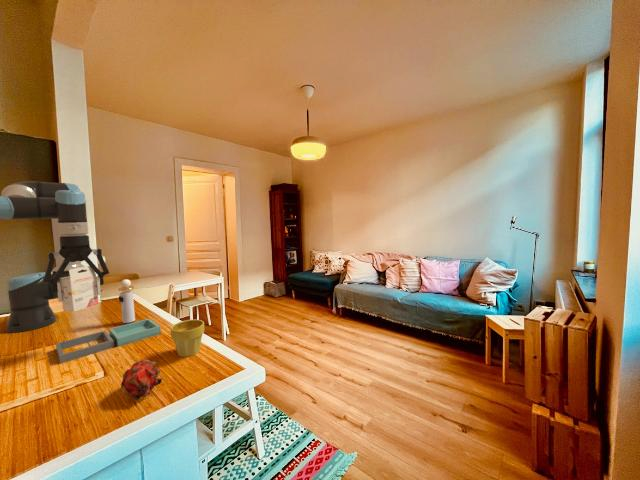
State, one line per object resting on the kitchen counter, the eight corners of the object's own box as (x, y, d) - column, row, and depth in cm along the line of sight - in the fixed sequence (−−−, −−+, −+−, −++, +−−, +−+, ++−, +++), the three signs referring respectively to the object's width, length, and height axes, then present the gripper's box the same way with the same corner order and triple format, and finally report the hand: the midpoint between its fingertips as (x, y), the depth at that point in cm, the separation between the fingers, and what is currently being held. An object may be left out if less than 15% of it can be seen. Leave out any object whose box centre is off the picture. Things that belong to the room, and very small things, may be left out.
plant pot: (212, 348, 93) (210, 321, 92) (186, 362, 83) (184, 333, 83) (191, 342, 97) (190, 317, 96) (165, 356, 88) (163, 328, 87)
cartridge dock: (56, 350, 94) (55, 343, 94) (105, 336, 104) (105, 330, 104) (60, 363, 85) (59, 356, 85) (114, 347, 95) (113, 340, 95)
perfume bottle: (134, 319, 123) (131, 277, 121) (138, 322, 119) (135, 278, 117) (119, 323, 118) (116, 279, 117) (123, 326, 114) (119, 281, 113)
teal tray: (109, 336, 104) (108, 329, 104) (149, 325, 115) (149, 318, 115) (118, 346, 95) (117, 338, 95) (160, 333, 106) (160, 326, 106)
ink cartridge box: (88, 303, 98) (84, 264, 97) (99, 303, 97) (95, 265, 96) (62, 311, 90) (57, 269, 89) (73, 312, 89) (69, 269, 88)
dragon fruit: (144, 383, 76) (147, 413, 66) (113, 377, 71) (111, 408, 61) (163, 356, 77) (169, 382, 68) (134, 349, 72) (135, 375, 63)
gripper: (27, 237, 81) (35, 308, 82) (116, 233, 97) (121, 292, 99) (26, 236, 85) (34, 303, 87) (111, 233, 102) (116, 288, 104)
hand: (80, 297), depth 93 cm, fingers closed on ink cartridge box, 10 cm apart
